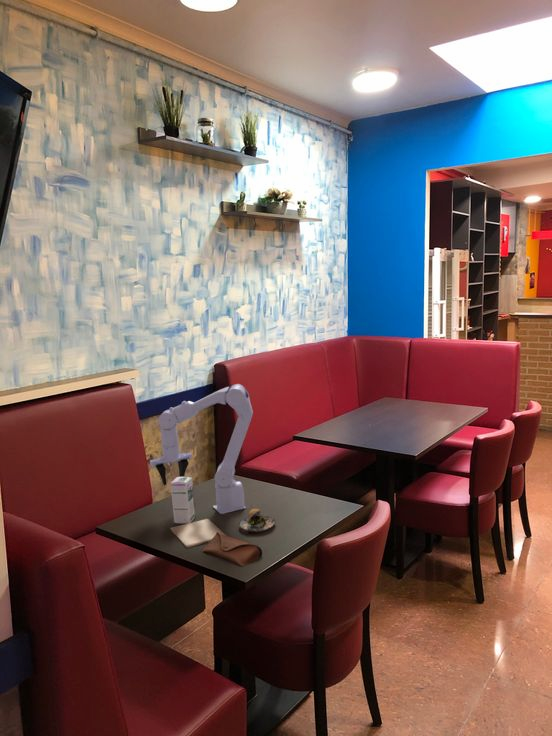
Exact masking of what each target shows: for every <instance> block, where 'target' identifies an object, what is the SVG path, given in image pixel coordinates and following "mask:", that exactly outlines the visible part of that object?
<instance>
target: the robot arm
mask: <svg viewBox="0 0 552 736" xmlns="http://www.w3.org/2000/svg"><path fill="white" fill-rule="evenodd" d="M216 404H221V405H226V404H228V405H229V406H230V407H231V408H232V409H234V411H235V413H236V414H237V416H238V417H237V420H236V422H235V425H234V428H233V432H232V434H231V437H230V440H229V443H228V445H227V449H226V452H225V455H224V456H223V460H222V462H221V463H220V464H219V465H218V467H217V470H216V473H215V474H214V478H213V479H214V480H213V481H214V482H215V483H214V486H215V499H216V504H215V505H213V506H212V508H213V509H214V510H216V511H217V512H218V513H219V514H220V515H224V514H228V513H232V512H235V511H240V510H243V509H246V508H247V507H246V506H245V492H244V486H243V483H242V482H241V481H237V480H236V479H234V475H235V473H236V469H235V466H236V464H237V460H238V458H239V455H240V452H241V450H242V449H241V448H242V446H243V444H244V440H245V438H246V436H247V435H246V434H247V432H248V430H249V427H250V423H251V422H252V418H253V414H254V411H253V407H252V404H251V399H250V394H249V392H248V391H247V389H246V388H245V386H244V385H242V384H240V383H236V384H232V385H231V386H226V387H224V388H221V389H219V390H217V391H214V392H213V393H211V394H208V395H206V396H205V397H203V398H201V399H199V400H197V401H195V402H194V401H191V400H188V401H186V400H183V401H182V402H181V404H178V405H177V406H174V407H172V406H171V407H169V409H166V410H164V411H163V412H162V413H161V415H160V416H159V417H158V420H157V421H158V422H157V423H158V426H159V427H160V438H161V439H160V440H161V450H162V451H161V452H162V456H161V457H158V458H155V459H150V460H149V463H150V467H152V468H154V467H155V469H156V470H157V471H158V474H159V476H160V478H161V483H162V484H163V486H167V477H166V473H167V471H166V470H167V469H166V467H165V465H166V464H172V463H177V464H178V473H179V476H178V477H184V476H185V475H186V471H187V468H188V466H189V461H188V460H193V454H192V453H191V452H186V453H185V452H184V453H180V447H179V446H180V444H179V434H178V427H177V426H178V425H177V424H181V423H183V422H185V421H188V420H190V419H192V418H194V417H196V416H197V415H198V412H199V411H201V410H204V409H206V408H209V407H211V406H213V405H216Z"/></svg>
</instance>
